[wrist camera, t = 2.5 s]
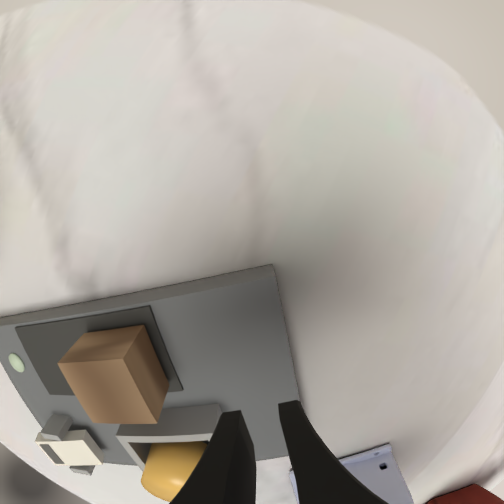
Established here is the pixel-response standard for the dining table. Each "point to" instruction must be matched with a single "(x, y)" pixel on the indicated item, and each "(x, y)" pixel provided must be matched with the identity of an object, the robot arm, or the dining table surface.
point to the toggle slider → (116, 376)
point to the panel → (167, 362)
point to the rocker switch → (72, 449)
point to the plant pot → (468, 497)
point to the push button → (170, 467)
